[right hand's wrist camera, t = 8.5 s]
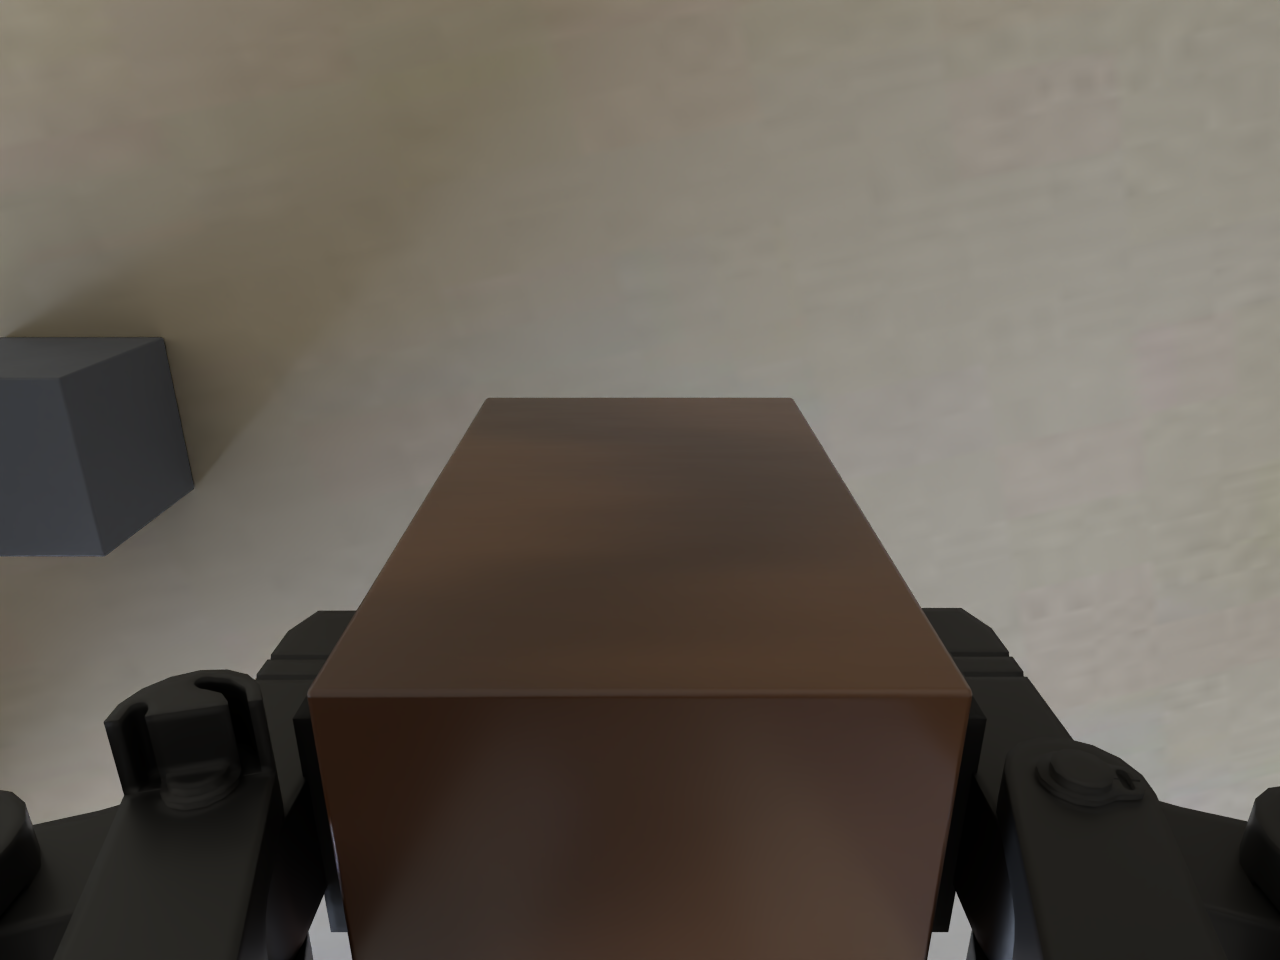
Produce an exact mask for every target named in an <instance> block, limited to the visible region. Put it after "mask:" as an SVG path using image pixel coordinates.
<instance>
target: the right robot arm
mask: <svg viewBox="0 0 1280 960" xmlns="http://www.w3.org/2000/svg"><path fill="white" fill-rule="evenodd" d="M921 609H922V610H923V612H924V613H925V615H926V617H927V618H928V620H929V622H930V623H931V625H932V626H933V628H934V630H935V631H936V633H937V635H938V636H939V638H940V639H941V641H942V643H943V644H944V646H945V648H946V649H947V651H948V653H949V654H950V656H951V657H952V659H953V661H954V662H955V664H956V666H957V667H958V669H959V670H960V672H961V674H962V675H963V677H964V679H965V680H966V682H967V684H968V685H969V687H970V688H971V691H972V701H971V707H970V713H969V719H968V724H967V730H966V736H965V742H964V748H963V754H962V759H961V765H960V771H959V777H958V783H957V788H956V794H955V800H954V806H953V812H952V817H951V823H950V829H949V835H948V841H947V847H946V852H945V858H944V864H943V870H942V876H941V881H940V887H939V893H938V899H937V905H936V911H935V916H934V922H933V928H932V932H948V931H949V925H950V919H951V914H952V908H953V903H954V897H955V892H957V895H958V897H959V899H960V902H961V904H962V907H963V909H964V911H965V914H966V916H967V918H968V921H969V923H970V925H971V928H972V933H971V938H970V943H969V948H968V953H967V958H966V960H1280V786H1279V787H1273V788H1268V789H1267V790H1266V791H1264V792H1263V793H1262V794H1261V795H1260V796H1258V797H1257V798H1256V799H1255V802H1254V805H1253V808H1252V811H1251V814H1250V817H1249V820H1248V822H1247V821H1243V820H1238V819H1233V818H1229V817H1224V816H1220V815H1215V814H1210V813H1206V812H1201V811H1197V810H1192V809H1187V808H1183V807H1179V806H1175V805H1172V804H1168V803H1165V802H1161V801H1159V800H1158V798H1157V795H1156V794H1155V792H1154V791H1153V789H1152V788H1151V787H1150V785H1149V784H1148V782H1147V781H1146V780H1145V778H1144V777H1143V776H1142V775H1141V774H1140V773H1139V772H1137V771H1136V770H1135V769H1134V768H1132V767H1131V766H1130V765H1128V764H1127V763H1126V762H1124V761H1123V760H1122V759H1120V758H1119V757H1116V756H1114V755H1112V754H1110V753H1108V752H1106V751H1104V750H1102V749H1100V748H1097V747H1095V746H1093V745H1090V744H1086V743H1082V742H1078V741H1074V740H1073V739H1072V737H1071V736H1070V735H1069V733H1068V732H1067V731H1066V729H1065V728H1064V727H1063V725H1062V724H1061V722H1060V721H1059V720H1058V718H1057V717H1056V716H1055V714H1054V713H1053V712H1052V710H1051V709H1050V707H1049V706H1048V705H1047V703H1046V702H1045V701H1044V699H1043V698H1042V697H1041V695H1040V694H1039V692H1038V691H1037V690H1036V688H1035V687H1034V686H1033V684H1032V683H1031V682H1030V680H1029V679H1028V677H1024V676H1023V671H1022V669H1021V668H1020V667H1019V665H1018V664H1017V662H1016V661H1015V660H1014V658H1013V657H1009V652H1008V650H1007V649H1006V647H1005V646H1004V645H1003V643H1002V642H1001V641H1000V639H999V638H998V637H997V635H996V634H995V632H994V631H993V630H992V628H990V627H989V626H987V625H986V624H984V623H983V622H981V621H980V620H978V619H977V618H975V617H974V616H972V615H971V614H969V613H968V612H966V611H965V610H963V609H962V608H921ZM355 613H356V611H317V612H316V613H314V614H313V615H311V616H310V617H309V618H307V619H306V620H304V621H303V622H301V623H300V624H298V625H297V626H295V627H294V628H292V629H291V630H289V631H288V632H287V634H286V635H285V636H284V638H283V639H282V640H281V642H280V643H279V645H278V646H277V647H276V649H275V650H274V651H273V653H272V654H271V660H267V661H266V662H265V664H264V665H263V667H262V668H261V669H260V671H259V672H258V673H257V678H256V680H254V679H253V678H251V677H250V676H249V675H248V674H244V673H239V672H235V671H231V670H200V671H195V672H191V673H186V674H182V675H178V676H173V677H170V678H167V679H165V680H162V681H160V682H157V683H155V684H153V685H150V686H148V687H145V688H143V689H141V690H140V691H138V692H137V693H135V694H134V695H132V696H131V697H129V698H128V699H126V700H125V701H123V702H122V703H120V704H119V705H118V706H117V707H116V708H115V709H114V710H113V712H112V713H111V714H110V715H109V716H108V718H107V719H106V720H105V721H104V725H105V728H106V732H107V736H108V739H109V743H110V746H111V750H112V753H113V757H114V760H115V764H116V768H117V771H118V775H119V778H120V782H121V785H122V789H123V792H124V797H123V799H122V802H121V804H120V805H118V806H114V807H111V808H107V809H104V810H100V811H95V812H91V813H86V814H82V815H77V816H73V817H68V818H63V819H59V820H54V821H50V822H45V823H41V824H36V825H32V822H31V819H30V816H29V813H28V810H27V807H26V804H25V802H23V801H22V800H21V799H20V798H19V797H17V796H16V795H15V794H14V793H13V792H9V791H2V790H0V960H313V955H312V948H311V943H310V938H309V933H308V931H309V928H310V926H311V924H312V921H313V919H314V916H315V914H316V912H317V909H318V907H319V905H320V902H321V900H322V898H323V895H325V901H326V906H327V912H328V917H329V923H330V928H331V932H348V931H347V925H346V920H345V914H344V908H343V902H342V896H341V891H340V885H339V879H338V873H337V867H336V861H335V856H334V850H333V844H332V838H331V832H330V827H329V821H328V815H327V809H326V803H325V798H324V792H323V786H322V780H321V774H320V769H319V763H318V757H317V751H316V745H315V740H314V734H313V728H312V722H311V716H310V711H309V705H308V699H307V693H308V689H309V688H310V686H311V684H312V683H313V681H314V680H315V678H316V676H317V675H318V673H319V671H320V670H321V668H322V666H323V665H324V663H325V662H326V660H327V658H328V657H329V655H330V653H331V652H332V650H333V648H334V647H335V645H336V644H337V642H338V640H339V639H340V637H341V635H342V634H343V632H344V631H345V629H346V627H347V626H348V624H349V622H350V621H351V619H352V617H353V616H354V614H355Z"/></svg>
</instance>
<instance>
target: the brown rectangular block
mask: <svg viewBox="0 0 1280 960" xmlns="http://www.w3.org/2000/svg"><path fill="white" fill-rule="evenodd" d="M307 699H308V705H309V711H310V716H311V722H312V728H313V734H314V740H315V745H316V751H317V757H318V763H319V769H320V774H321V780H322V786H323V792H324V798H325V803H326V809H327V815H328V821H329V827H330V832H331V838H332V844H333V850H334V856H335V861H336V867H337V873H338V879H339V885H340V891H341V896H342V902H343V908H344V914H345V920H346V925H347V931H348V937H349V943H350V949H351V954H352V960H927V957H928V951H929V945H930V940H931V934H932V928H933V922H934V916H935V911H936V905H937V899H938V893H939V887H940V881H941V876H942V870H943V864H944V858H945V852H946V847H947V841H948V835H949V829H950V823H951V817H952V812H953V806H954V800H955V794H956V788H957V783H958V777H959V771H960V765H961V759H962V754H963V748H964V742H965V736H966V730H967V724H968V719H969V713H970V707H971V701H972V691H971V688H970V687H969V685H968V684H967V682H966V680H965V679H964V677H963V675H962V674H961V672H960V670H959V669H958V667H957V666H956V664H955V662H954V661H953V659H952V657H951V656H950V654H949V653H948V651H947V649H946V648H945V646H944V644H943V643H942V641H941V639H940V638H939V636H938V635H937V633H936V631H935V630H934V628H933V626H932V625H931V623H930V622H929V620H928V618H927V617H926V615H925V613H924V612H923V610H922V609H921V607H920V605H919V604H918V602H917V600H916V599H915V597H914V595H913V594H912V592H911V591H910V589H909V587H908V586H907V584H906V582H905V581H904V579H903V578H902V576H901V574H900V573H899V571H898V569H897V568H896V566H895V564H894V563H893V561H892V560H891V558H890V556H889V555H888V553H887V551H886V550H885V548H884V547H883V545H882V543H881V542H880V540H879V538H878V537H877V535H876V534H875V532H874V530H873V529H872V527H871V525H870V524H869V522H868V520H867V519H866V517H865V516H864V514H863V512H862V511H861V509H860V507H859V506H858V504H857V503H856V501H855V499H854V498H853V496H852V494H851V493H850V491H849V489H848V488H847V486H846V485H845V483H844V481H843V480H842V478H841V476H840V475H839V473H838V472H837V470H836V468H835V467H834V465H833V463H832V462H831V460H830V459H829V457H828V455H827V454H826V452H825V450H824V449H823V447H822V445H821V444H820V442H819V441H818V439H817V437H816V436H815V434H814V432H813V431H812V429H811V428H810V426H809V424H808V423H807V421H806V419H805V418H804V416H803V415H802V413H801V411H800V410H799V408H798V406H797V405H796V403H795V401H794V400H793V399H792V398H487V399H486V400H485V402H484V403H483V405H482V407H481V408H480V410H479V412H478V413H477V415H476V416H475V418H474V420H473V421H472V423H471V425H470V426H469V428H468V430H467V431H466V433H465V434H464V436H463V438H462V439H461V441H460V443H459V444H458V446H457V448H456V449H455V451H454V452H453V454H452V456H451V457H450V459H449V461H448V462H447V464H446V466H445V467H444V469H443V470H442V472H441V474H440V475H439V477H438V479H437V480H436V482H435V483H434V485H433V487H432V488H431V490H430V492H429V493H428V495H427V497H426V498H425V500H424V501H423V503H422V505H421V506H420V508H419V510H418V511H417V513H416V515H415V516H414V518H413V519H412V521H411V523H410V524H409V526H408V528H407V529H406V531H405V532H404V534H403V536H402V537H401V539H400V541H399V542H398V544H397V546H396V547H395V549H394V550H393V552H392V554H391V555H390V557H389V559H388V560H387V562H386V564H385V565H384V567H383V568H382V570H381V572H380V573H379V575H378V577H377V578H376V580H375V582H374V583H373V585H372V586H371V588H370V590H369V591H368V593H367V595H366V596H365V598H364V599H363V601H362V603H361V604H360V606H359V608H358V609H357V611H356V613H355V614H354V616H353V617H352V619H351V621H350V622H349V624H348V626H347V627H346V629H345V631H344V632H343V634H342V635H341V637H340V639H339V640H338V642H337V644H336V645H335V647H334V648H333V650H332V652H331V653H330V655H329V657H328V658H327V660H326V662H325V663H324V665H323V666H322V668H321V670H320V671H319V673H318V675H317V676H316V678H315V680H314V681H313V683H312V684H311V686H310V688H309V689H308V693H307Z"/></svg>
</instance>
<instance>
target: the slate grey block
mask: <svg viewBox="0 0 1280 960" xmlns="http://www.w3.org/2000/svg"><path fill="white" fill-rule="evenodd" d="M193 489H194V484H193V480H192V475H191V470H190V465H189V460H188V455H187V451H186V446H185V441H184V436H183V431H182V426H181V422H180V417H179V412H178V407H177V402H176V397H175V393H174V388H173V383H172V378H171V373H170V369H169V364H168V359H167V354H166V349H165V344H164V340H163V338H161V337H1V338H0V556H106V555H107V554H109V553H110V552H111V551H112V550H114V549H115V548H116V547H118V546H119V545H120V544H122V543H123V542H124V541H126V540H127V539H128V538H130V537H131V536H132V535H134V534H135V533H136V532H137V531H139V530H140V529H141V528H143V527H144V526H145V525H147V524H148V523H149V522H151V521H152V520H153V519H155V518H156V517H157V516H159V515H160V514H161V513H162V512H164V511H165V510H166V509H168V508H169V507H170V506H172V505H173V504H174V503H176V502H177V501H178V500H180V499H181V498H182V497H184V496H185V495H186V494H187V493H189V492H190V491H191V490H193Z"/></svg>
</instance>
